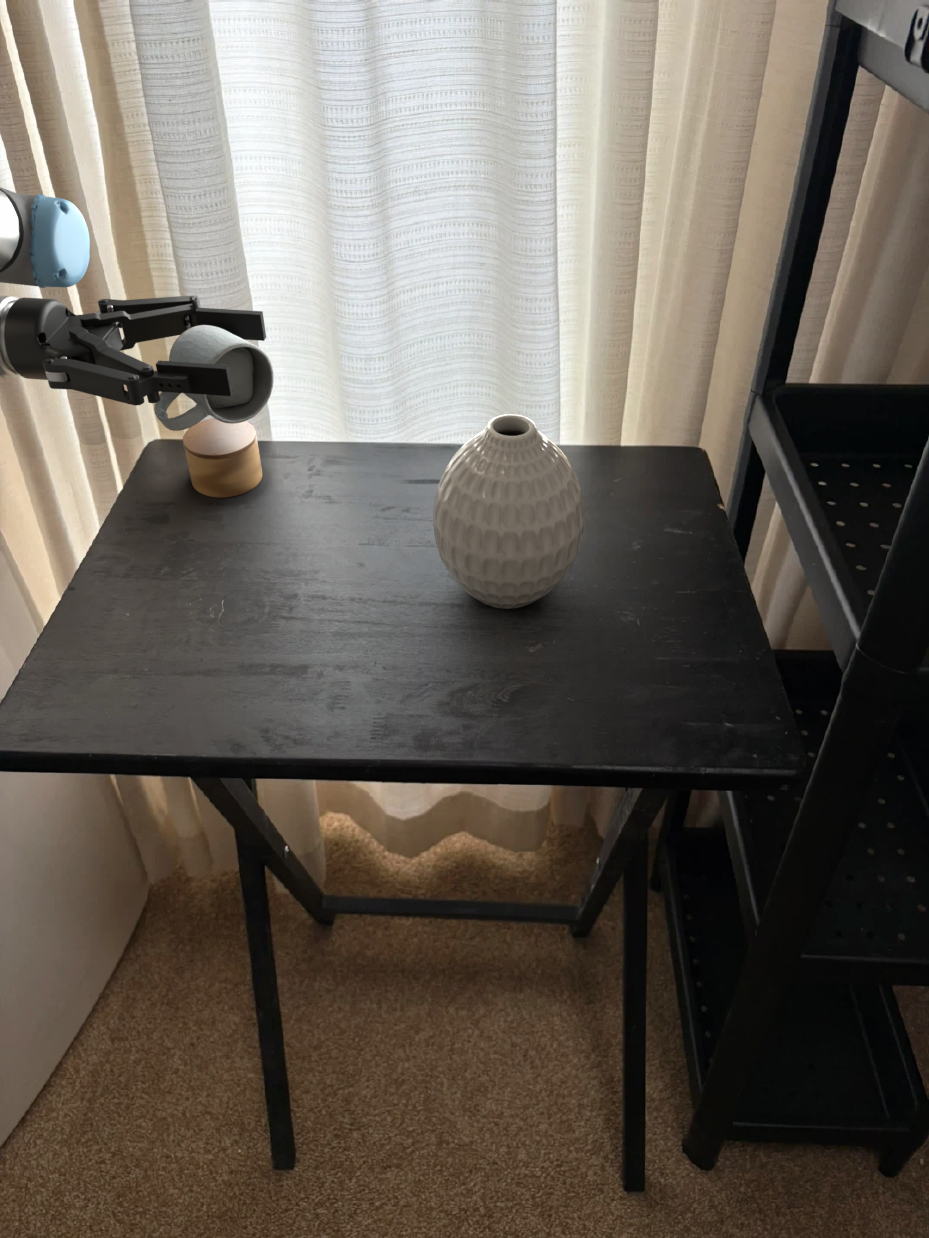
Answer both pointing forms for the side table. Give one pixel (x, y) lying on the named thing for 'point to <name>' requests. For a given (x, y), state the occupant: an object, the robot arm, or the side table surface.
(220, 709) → the side table surface
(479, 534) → the vase
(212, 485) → the oak stand
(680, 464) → the side table surface
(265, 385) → the ceramic mug
